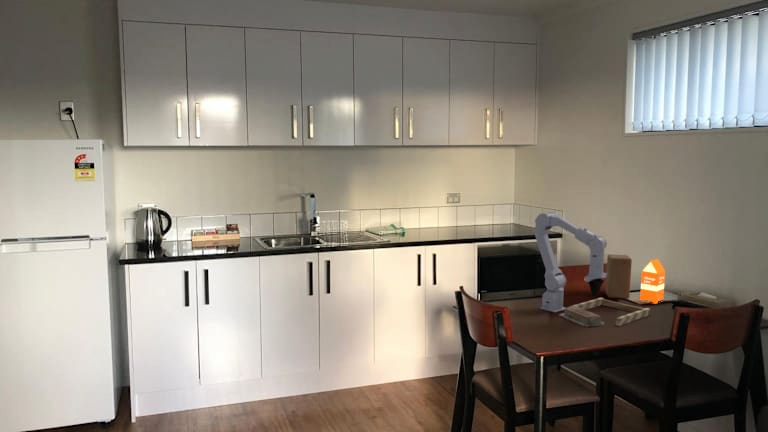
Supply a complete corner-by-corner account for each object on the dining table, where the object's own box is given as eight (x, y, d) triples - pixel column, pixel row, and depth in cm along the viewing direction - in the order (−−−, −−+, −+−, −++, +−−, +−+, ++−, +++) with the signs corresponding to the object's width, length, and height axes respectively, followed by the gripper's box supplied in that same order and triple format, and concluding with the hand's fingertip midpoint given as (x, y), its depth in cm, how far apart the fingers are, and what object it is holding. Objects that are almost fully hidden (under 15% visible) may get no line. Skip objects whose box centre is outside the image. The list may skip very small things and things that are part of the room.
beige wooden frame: (619, 325, 259) (619, 318, 258) (569, 313, 277) (569, 306, 277) (649, 315, 275) (650, 308, 275) (600, 303, 293) (600, 297, 293)
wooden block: (629, 299, 302) (632, 258, 300) (608, 297, 304) (610, 257, 302) (626, 294, 312) (628, 254, 310) (605, 293, 314) (607, 253, 312)
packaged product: (605, 314, 259) (586, 317, 256) (605, 326, 260) (585, 328, 256) (577, 303, 276) (559, 305, 272) (577, 314, 277) (558, 316, 273)
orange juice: (663, 300, 300) (666, 259, 298) (655, 303, 294) (658, 262, 292) (647, 297, 306) (649, 257, 303) (639, 300, 300) (642, 259, 297)
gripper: (595, 268, 261) (593, 300, 263) (614, 264, 270) (612, 295, 272) (580, 265, 266) (579, 296, 268) (599, 261, 276) (597, 291, 277)
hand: (594, 295), depth 270 cm, fingers closed
